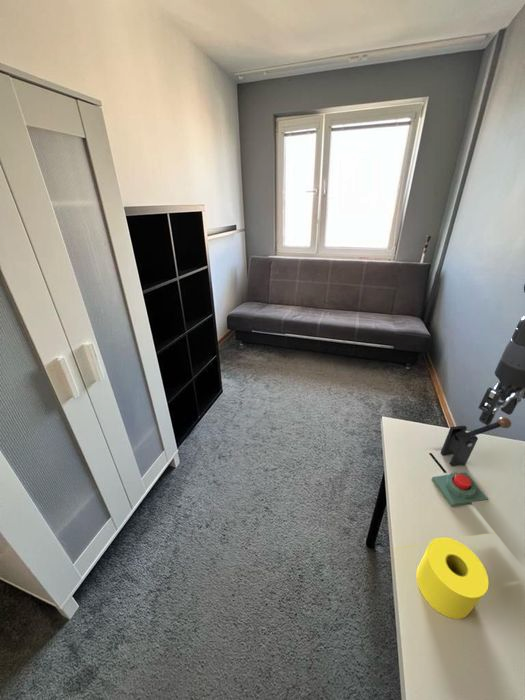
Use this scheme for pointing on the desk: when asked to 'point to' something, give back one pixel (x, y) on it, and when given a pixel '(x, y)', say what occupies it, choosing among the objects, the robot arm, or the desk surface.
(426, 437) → the desk surface
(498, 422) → the lever
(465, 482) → the button
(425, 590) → the tape roll
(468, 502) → the switch block
